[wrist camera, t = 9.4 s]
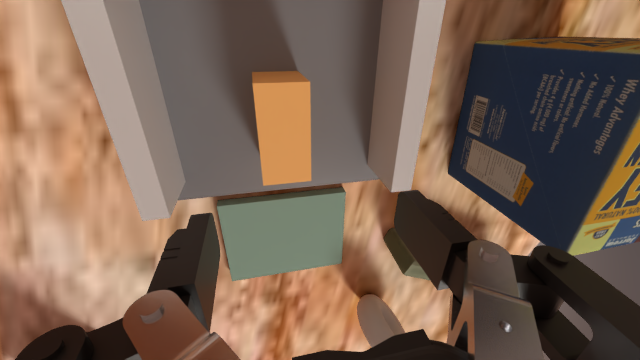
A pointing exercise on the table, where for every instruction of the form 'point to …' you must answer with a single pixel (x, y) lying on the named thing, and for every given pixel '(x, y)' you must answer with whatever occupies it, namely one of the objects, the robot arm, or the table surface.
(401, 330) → the donut
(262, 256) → the green mat
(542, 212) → the protein box
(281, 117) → the orange block
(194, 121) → the holder board
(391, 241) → the handheld radio
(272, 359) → the table surface
